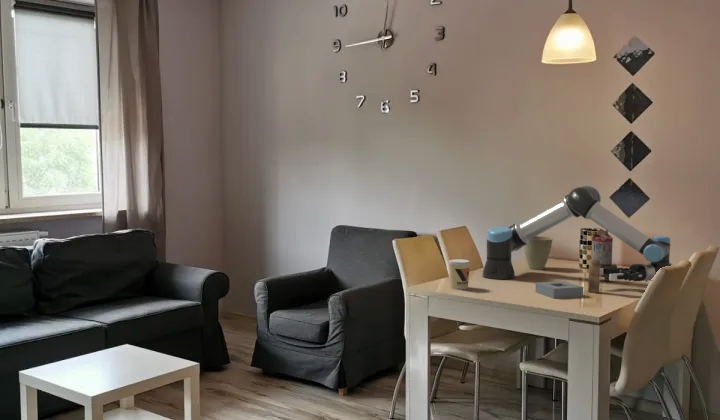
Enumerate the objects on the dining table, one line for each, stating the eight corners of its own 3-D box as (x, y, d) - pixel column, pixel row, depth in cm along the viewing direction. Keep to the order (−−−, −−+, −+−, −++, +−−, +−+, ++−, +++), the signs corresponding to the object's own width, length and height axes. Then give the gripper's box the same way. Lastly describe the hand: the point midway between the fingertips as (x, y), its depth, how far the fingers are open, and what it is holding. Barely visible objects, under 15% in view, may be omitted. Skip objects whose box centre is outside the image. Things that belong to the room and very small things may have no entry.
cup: (617, 283, 320) (618, 266, 320) (600, 282, 322) (601, 265, 321) (615, 280, 328) (615, 263, 327) (598, 279, 329) (599, 262, 329)
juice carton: (611, 275, 340) (612, 231, 338) (601, 276, 337) (602, 231, 335) (601, 273, 346) (602, 229, 344) (591, 274, 343) (592, 230, 341)
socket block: (535, 291, 299) (535, 282, 299) (563, 290, 303) (564, 281, 303) (553, 298, 286) (553, 288, 286) (583, 296, 290) (583, 287, 290)
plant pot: (517, 269, 358) (518, 238, 357) (528, 265, 371) (529, 235, 369) (545, 271, 350) (546, 240, 349) (555, 268, 362) (556, 237, 361)
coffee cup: (456, 290, 301) (456, 263, 300) (444, 286, 309) (444, 259, 308) (473, 288, 305) (474, 261, 304) (461, 285, 314) (461, 258, 313)
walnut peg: (586, 291, 301) (587, 259, 300) (594, 290, 302) (595, 258, 301) (592, 293, 297) (593, 260, 296) (601, 292, 298) (602, 260, 297)
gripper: (660, 286, 293) (618, 288, 287) (622, 276, 317) (582, 278, 311) (661, 268, 293) (618, 270, 287) (623, 259, 317) (582, 261, 310)
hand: (599, 274), depth 299 cm, fingers open, 13 cm apart
